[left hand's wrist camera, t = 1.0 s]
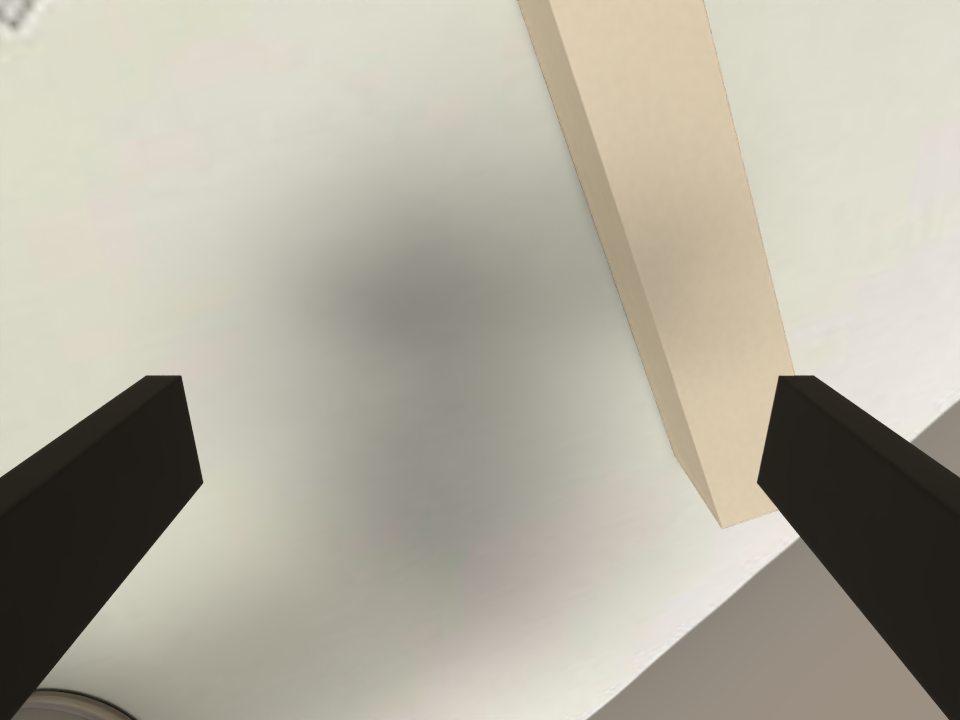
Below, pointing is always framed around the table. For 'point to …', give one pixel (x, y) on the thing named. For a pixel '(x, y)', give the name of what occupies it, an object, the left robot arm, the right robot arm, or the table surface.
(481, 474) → the table surface
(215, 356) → the table surface
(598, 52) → the bar
